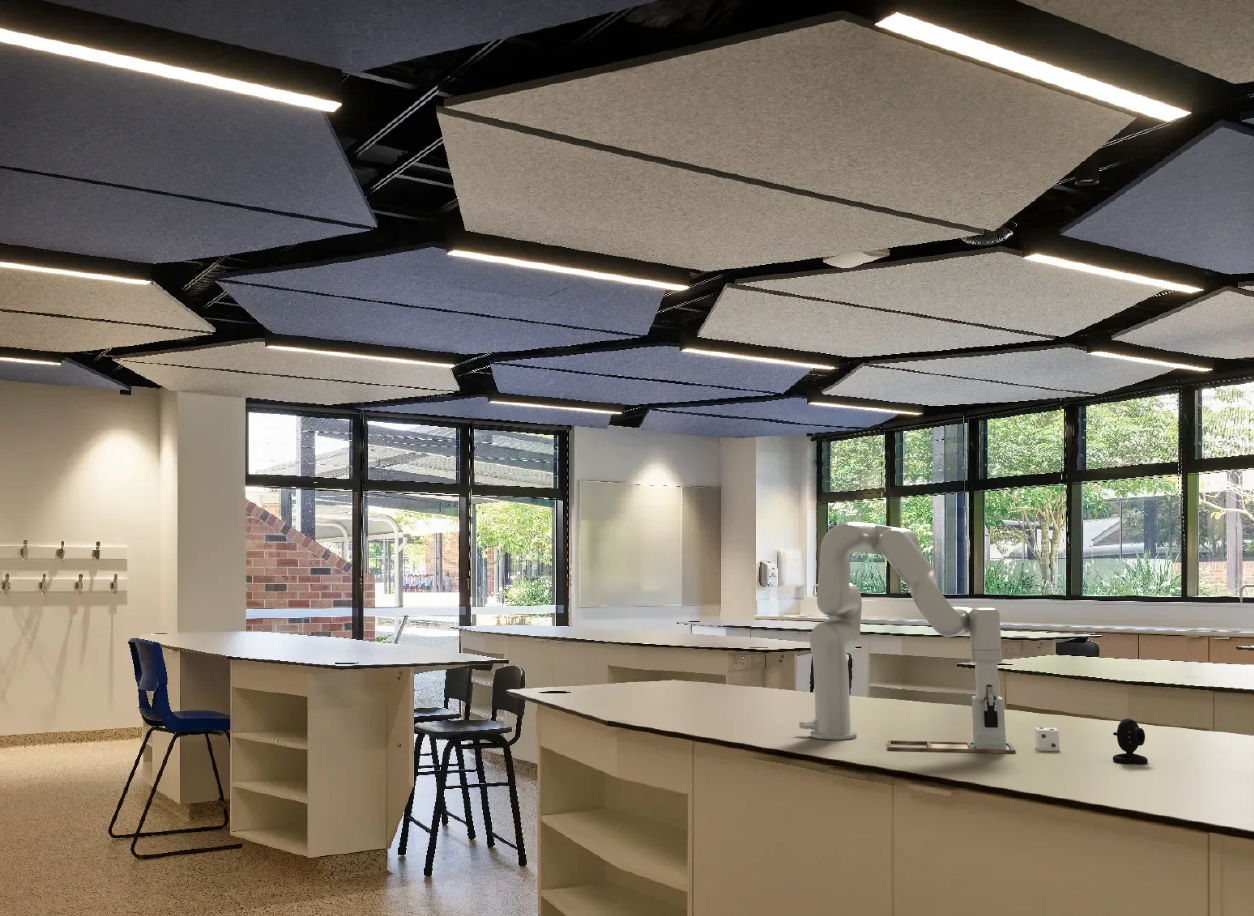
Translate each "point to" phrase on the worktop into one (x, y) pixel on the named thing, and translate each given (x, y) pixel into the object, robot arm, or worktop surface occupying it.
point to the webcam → (1129, 742)
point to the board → (947, 747)
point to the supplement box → (988, 736)
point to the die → (1047, 739)
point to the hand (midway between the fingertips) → (989, 724)
